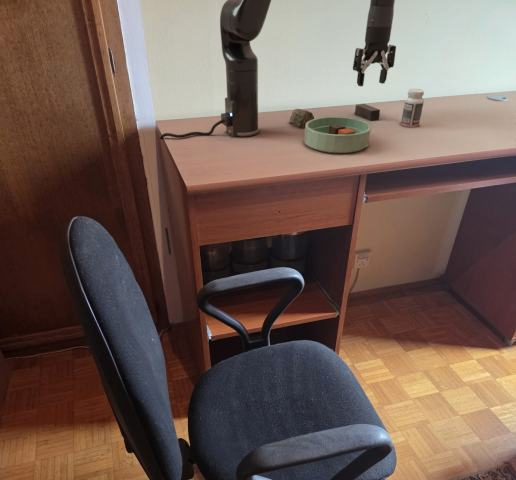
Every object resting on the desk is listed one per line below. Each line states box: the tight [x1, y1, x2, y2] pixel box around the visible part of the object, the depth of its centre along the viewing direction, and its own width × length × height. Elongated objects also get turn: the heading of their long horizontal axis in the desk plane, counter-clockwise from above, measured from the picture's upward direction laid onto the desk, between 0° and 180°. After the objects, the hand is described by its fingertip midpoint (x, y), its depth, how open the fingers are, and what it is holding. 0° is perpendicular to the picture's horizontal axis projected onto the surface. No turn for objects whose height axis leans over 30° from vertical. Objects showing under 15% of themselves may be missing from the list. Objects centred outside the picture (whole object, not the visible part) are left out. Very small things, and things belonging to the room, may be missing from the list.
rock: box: [289, 108, 315, 129], centre depth 145 cm, size 7×8×4 cm
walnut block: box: [328, 124, 346, 135], centre depth 132 cm, size 4×4×4 cm
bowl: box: [303, 116, 372, 154], centre depth 130 cm, size 19×19×5 cm
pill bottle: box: [400, 88, 425, 128], centre depth 142 cm, size 6×6×10 cm
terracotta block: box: [338, 128, 356, 135], centre depth 129 cm, size 4×4×4 cm
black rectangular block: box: [354, 103, 381, 121], centre depth 152 cm, size 9×4×3 cm, turn 25°
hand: (371, 84), depth 147 cm, fingers open, 8 cm apart
